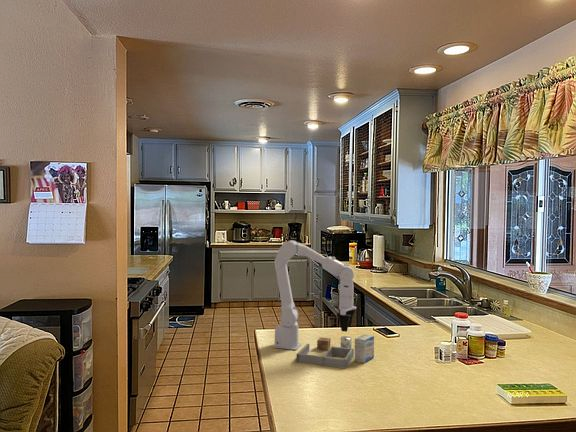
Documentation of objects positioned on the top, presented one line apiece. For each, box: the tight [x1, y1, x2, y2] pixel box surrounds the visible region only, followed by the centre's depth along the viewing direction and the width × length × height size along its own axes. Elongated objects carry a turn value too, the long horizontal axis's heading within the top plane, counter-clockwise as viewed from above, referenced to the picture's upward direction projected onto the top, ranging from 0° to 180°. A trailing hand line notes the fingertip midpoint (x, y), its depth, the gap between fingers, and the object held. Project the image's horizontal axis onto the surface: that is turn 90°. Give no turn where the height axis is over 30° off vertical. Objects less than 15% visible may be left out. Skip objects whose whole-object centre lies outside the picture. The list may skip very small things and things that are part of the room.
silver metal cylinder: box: [340, 335, 352, 348], centre depth 186 cm, size 4×4×5 cm
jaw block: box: [316, 336, 332, 352], centre depth 188 cm, size 4×4×4 cm
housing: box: [296, 343, 355, 369], centre depth 174 cm, size 19×14×3 cm
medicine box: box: [354, 333, 375, 364], centre depth 175 cm, size 8×4×9 cm, turn 143°
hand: (346, 328), depth 186 cm, fingers open, 7 cm apart
